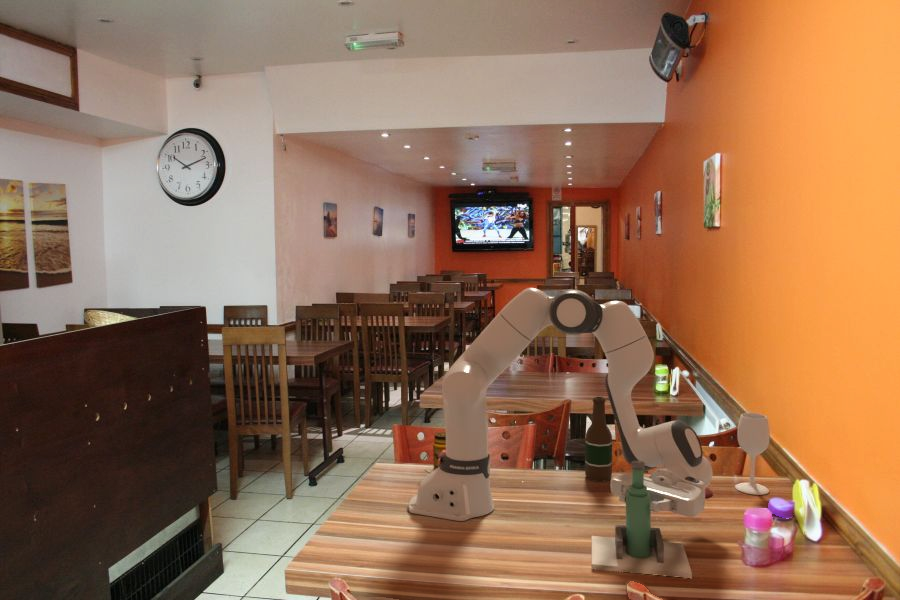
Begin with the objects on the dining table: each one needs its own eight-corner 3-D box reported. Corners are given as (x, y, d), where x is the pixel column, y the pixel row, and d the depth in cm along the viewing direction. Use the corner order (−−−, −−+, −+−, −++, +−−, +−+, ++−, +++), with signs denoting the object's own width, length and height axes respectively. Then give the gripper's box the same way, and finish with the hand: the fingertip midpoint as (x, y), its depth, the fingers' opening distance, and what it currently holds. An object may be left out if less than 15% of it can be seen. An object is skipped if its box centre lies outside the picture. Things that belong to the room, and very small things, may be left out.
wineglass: (730, 484, 187) (731, 412, 185) (760, 484, 187) (762, 412, 185) (742, 495, 178) (744, 419, 177) (774, 495, 178) (777, 419, 176)
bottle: (626, 557, 140) (626, 465, 139) (625, 547, 145) (624, 458, 144) (651, 559, 139) (651, 466, 138) (649, 548, 144) (649, 459, 143)
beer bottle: (612, 482, 189) (613, 401, 187) (585, 481, 190) (585, 400, 188) (611, 473, 196) (612, 395, 195) (585, 472, 198) (585, 394, 196)
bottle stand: (591, 569, 137) (591, 545, 137) (591, 540, 151) (591, 519, 150) (691, 578, 133) (692, 554, 133) (682, 548, 147) (682, 526, 146)
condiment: (440, 478, 194) (439, 438, 193) (424, 470, 200) (424, 432, 200) (460, 473, 198) (459, 434, 197) (444, 466, 205) (443, 428, 204)
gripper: (628, 463, 157) (596, 477, 148) (711, 484, 142) (681, 501, 133) (628, 488, 158) (595, 504, 148) (711, 512, 143) (681, 531, 133)
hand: (637, 503), depth 140 cm, fingers open, 6 cm apart
